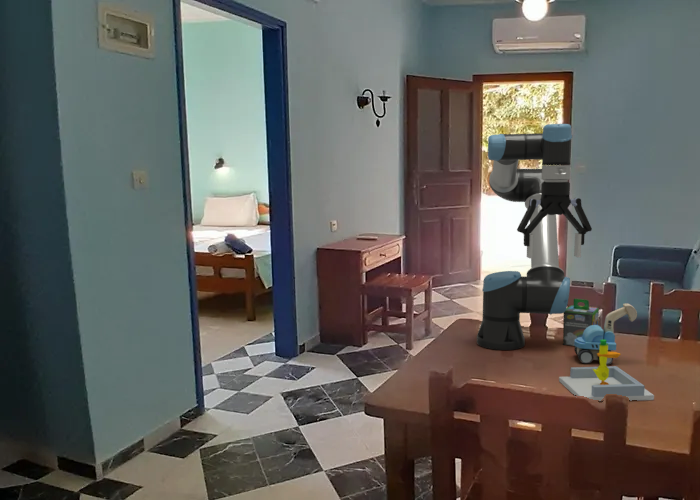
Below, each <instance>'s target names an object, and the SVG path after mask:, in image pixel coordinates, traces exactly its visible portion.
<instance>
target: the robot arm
mask: <svg viewBox="0 0 700 500" xmlns="http://www.w3.org/2000/svg"><path fill="white" fill-rule="evenodd" d="M542 128H543V129H542V133H541V132H540V133H499V134H491V135H489V136H488V137H487V138H488V139H487V159H488V160H490V161H493V165H492V170H491V172H490V174H489V177H488V178H489V180H488V182H489V187H490V189H491V190H492V192H493V193H494V194H495V195H496V196H498V197H500V198H501V199H503V200H505V201H509V202H513V203H514V202H515V203H524V206H525V208H526V210H525V213H524V215H523V217H522V219H521V221H520V222H519V225H518V227H517V229H516V231H517V232H518V233H521V234H523V246H525V247H526V258H527V259H530V265H531V266H530V267H531V268H530V269H528V270H527V271H526V276H522V274H521V272H520V271H517V270H504V271H498V272H497V271H495V272H492V273H489V274H487V275H485V277H484V278H483V283H482V285H483V286H482V320H481V323H480V326H479V329H478V332H477V334H476V344H477V345H479V347H482V348H486V349H489V350H499V351H510V350H518V349H521V348H523V347H524V346H526V345H525V343H526V342H525V341H526V338H525V337H526V336H525V334H524V332H523V331H524V330H523V328H522V325H521V322H520V316H521V314H544V315H560V314H561V315H562V314H564V312H565V311H566V308H568V305H569V297H570V290H571V278H570V277H568V276H565V271H564V270H563V268H561V267H560V263H559V262H560V259H559V245H558V230H557V229H558V228H557V227H558V226H557V215H558V216H562V215H563V216H564V217H565V218H566V219H567V221H569V223H570V224H571V225H572V227H573V228H574V229H575V230H576V231H577V232H575V233H574V249H573V252H574V253H573V256H574V257H576V258H581V257H582V255H581V253H582V246H584V245H585V234H587V233H588V232H591V231H592V230H593V229H592V226H591V224H590V221H589V219H588V218H587V215H586V213H585V211H584V209H583V207H582V206H583V205H582V199H581V198H578V197H574V198H572V199H571V198H570V195H571V193H570V192H571V182H569V180H570V179H571V167H572V166H571V163H572V162H571V159H572V158H571V157H572V156H571V155H572V139H573V135H572V131H573V130H572V125H571V124H569V123H552V124H550V123H548V124H545V125H544V126H543V127H542ZM525 160H526V161H527V160H528V161H530V160H531V161H536V160H537V161H539V160H540V161H541V160H542V162H541V168H518V165H519V161H525ZM570 205H572V207H573V208H574V209H575V213H576V214H577V216H578V218H579V221H580V222H579V221H578V220H577V219H576V217H575V216H574V215H573V214H572V212H571V210H570V209H569V207H570Z"/></svg>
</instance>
